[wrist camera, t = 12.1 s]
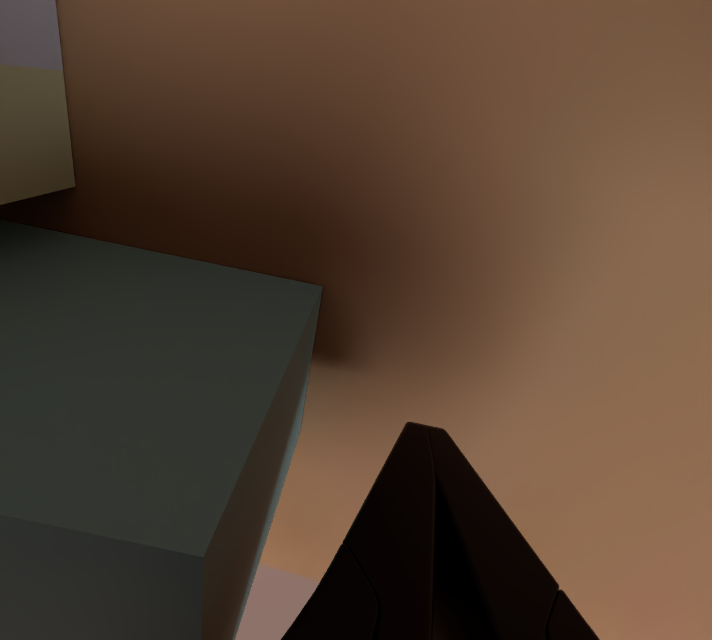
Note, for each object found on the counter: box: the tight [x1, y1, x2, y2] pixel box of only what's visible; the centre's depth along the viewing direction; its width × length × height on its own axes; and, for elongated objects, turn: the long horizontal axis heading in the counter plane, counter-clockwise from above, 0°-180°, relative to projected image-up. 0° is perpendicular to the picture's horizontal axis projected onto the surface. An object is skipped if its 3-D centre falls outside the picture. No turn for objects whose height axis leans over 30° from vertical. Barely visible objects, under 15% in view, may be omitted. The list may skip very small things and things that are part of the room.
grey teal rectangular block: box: [0, 220, 323, 640], centre depth 7 cm, size 8×4×6 cm, turn 80°
